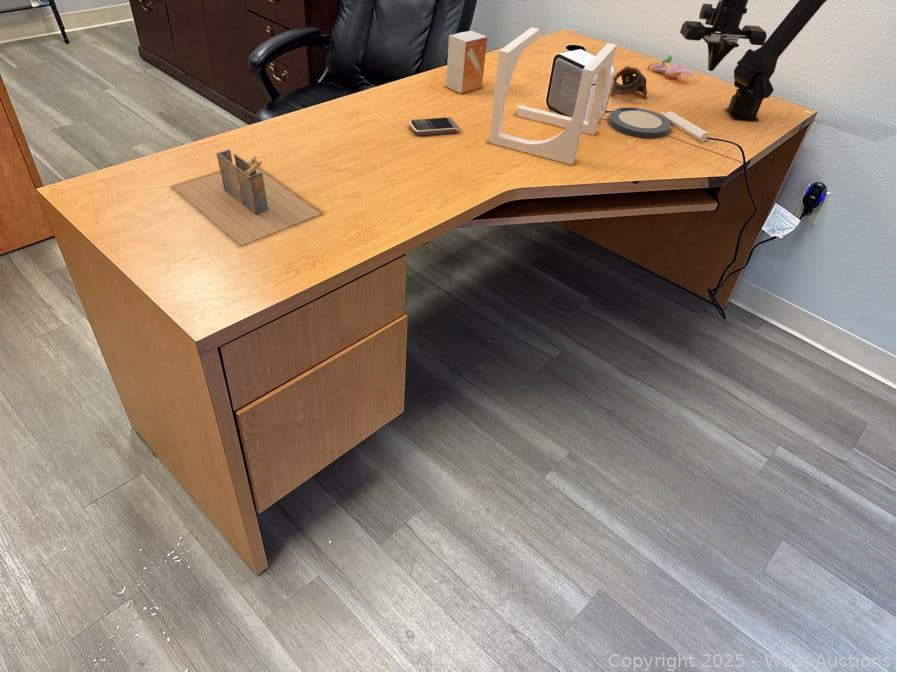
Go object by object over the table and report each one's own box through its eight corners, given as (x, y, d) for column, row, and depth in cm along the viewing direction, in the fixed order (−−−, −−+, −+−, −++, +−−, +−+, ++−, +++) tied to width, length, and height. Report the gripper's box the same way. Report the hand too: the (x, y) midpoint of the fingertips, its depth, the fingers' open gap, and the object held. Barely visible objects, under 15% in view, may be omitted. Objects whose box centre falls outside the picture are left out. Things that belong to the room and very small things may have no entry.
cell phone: (407, 125, 141) (408, 119, 140) (452, 122, 144) (452, 116, 143) (415, 137, 137) (415, 131, 136) (460, 133, 140) (461, 127, 139)
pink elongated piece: (643, 74, 181) (683, 83, 171) (646, 53, 178) (687, 60, 168) (657, 72, 184) (697, 80, 174) (660, 50, 181) (702, 58, 170)
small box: (461, 94, 158) (465, 41, 149) (445, 86, 161) (448, 34, 152) (482, 87, 162) (488, 36, 153) (466, 80, 165) (470, 29, 156)
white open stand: (488, 142, 137) (499, 50, 124) (519, 112, 151) (531, 27, 137) (572, 164, 132) (592, 71, 118) (596, 132, 145) (616, 44, 132)
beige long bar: (659, 118, 156) (703, 143, 146) (655, 114, 155) (698, 140, 144) (665, 108, 155) (710, 133, 145) (661, 105, 154) (706, 130, 143)
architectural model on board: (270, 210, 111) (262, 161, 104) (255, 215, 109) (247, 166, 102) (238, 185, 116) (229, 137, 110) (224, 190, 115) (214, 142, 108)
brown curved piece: (652, 104, 162) (649, 79, 155) (617, 117, 165) (613, 93, 158) (641, 77, 168) (637, 52, 162) (607, 89, 171) (602, 66, 164)
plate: (661, 115, 156) (662, 109, 155) (675, 140, 145) (677, 134, 144) (603, 110, 155) (605, 105, 154) (614, 135, 144) (616, 129, 143)
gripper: (762, -6, 143) (736, 62, 154) (685, -12, 143) (664, 56, 153) (779, 6, 135) (751, 77, 145) (698, 0, 134) (676, 72, 145)
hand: (710, 70), depth 147 cm, fingers closed
